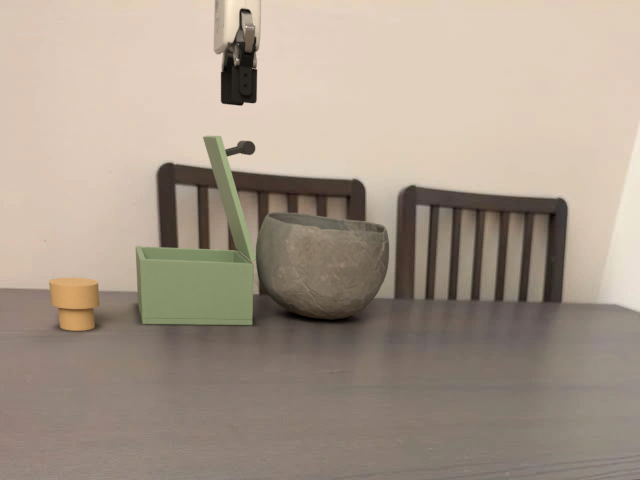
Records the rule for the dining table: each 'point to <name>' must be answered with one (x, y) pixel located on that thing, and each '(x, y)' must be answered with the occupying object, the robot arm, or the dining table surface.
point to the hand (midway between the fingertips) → (238, 103)
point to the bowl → (321, 263)
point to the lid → (230, 189)
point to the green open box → (194, 286)
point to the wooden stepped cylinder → (75, 302)
